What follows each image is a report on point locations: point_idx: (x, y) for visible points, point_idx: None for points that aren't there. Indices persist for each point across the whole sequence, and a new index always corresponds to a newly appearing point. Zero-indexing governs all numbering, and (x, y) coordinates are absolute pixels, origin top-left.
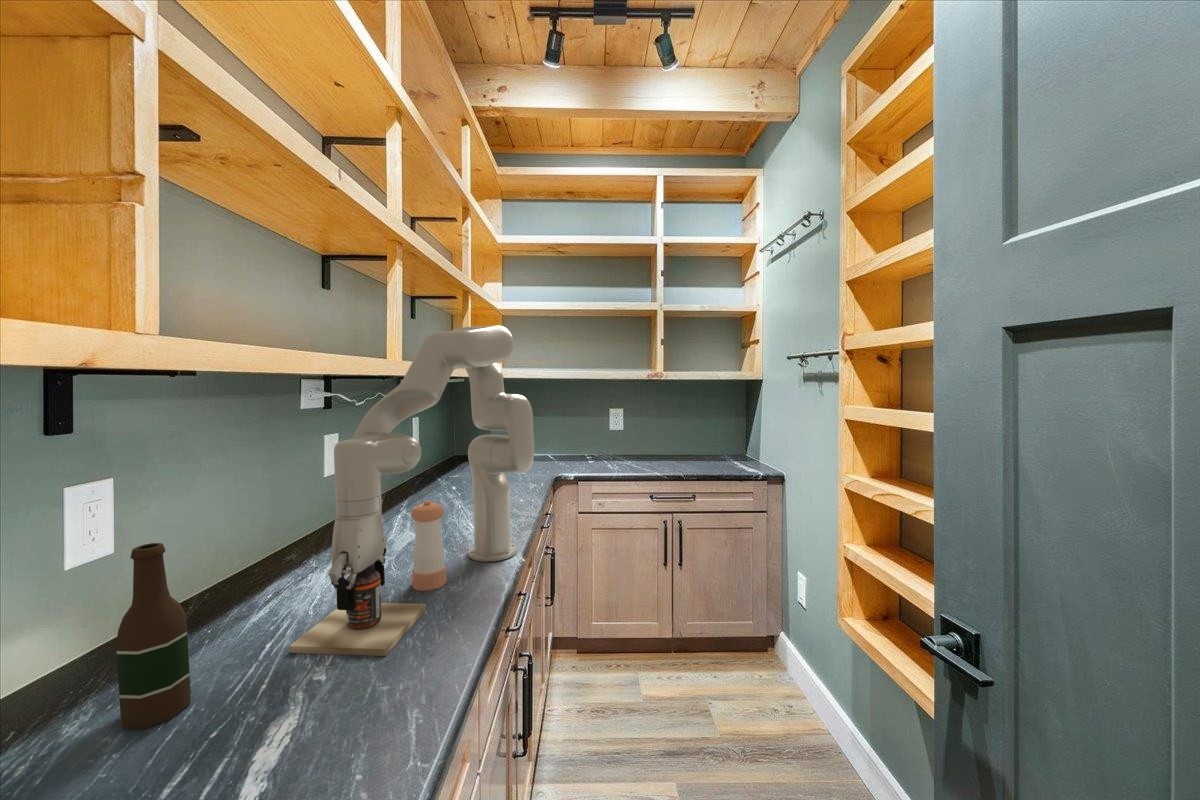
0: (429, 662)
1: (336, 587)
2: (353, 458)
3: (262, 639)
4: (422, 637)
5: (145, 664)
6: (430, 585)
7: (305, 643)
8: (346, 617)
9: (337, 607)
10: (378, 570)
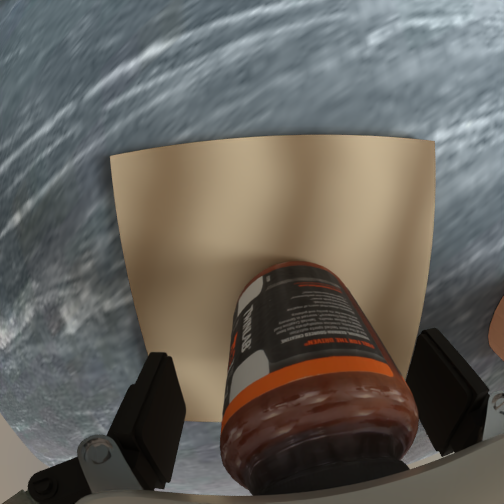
0: (182, 463)
1: (78, 459)
2: None
3: (184, 7)
4: None
5: None
6: (495, 345)
7: (130, 198)
8: (252, 289)
9: (148, 357)
10: (437, 428)
